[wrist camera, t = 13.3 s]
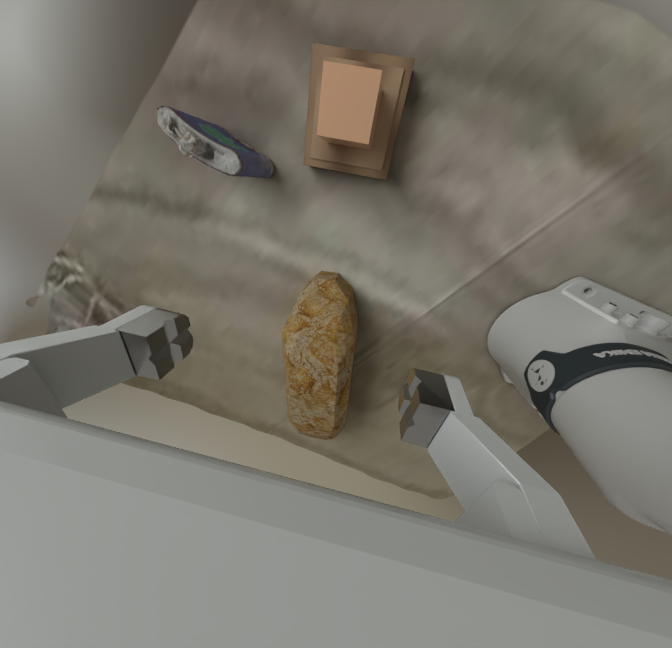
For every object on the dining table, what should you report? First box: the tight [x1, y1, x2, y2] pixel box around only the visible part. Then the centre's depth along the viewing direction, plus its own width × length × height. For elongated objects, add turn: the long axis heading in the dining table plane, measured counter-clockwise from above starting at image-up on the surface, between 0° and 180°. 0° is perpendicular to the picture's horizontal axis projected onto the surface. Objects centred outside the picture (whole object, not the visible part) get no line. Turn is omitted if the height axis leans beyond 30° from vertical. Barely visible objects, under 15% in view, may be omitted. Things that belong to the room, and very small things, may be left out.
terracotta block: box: [317, 61, 383, 150], centre depth 24 cm, size 5×5×5 cm
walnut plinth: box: [304, 43, 415, 180], centre depth 27 cm, size 10×10×3 cm
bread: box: [282, 271, 359, 440], centre depth 43 cm, size 36×11×10 cm, turn 177°
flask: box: [157, 106, 274, 178], centre depth 27 cm, size 9×3×11 cm, turn 60°
